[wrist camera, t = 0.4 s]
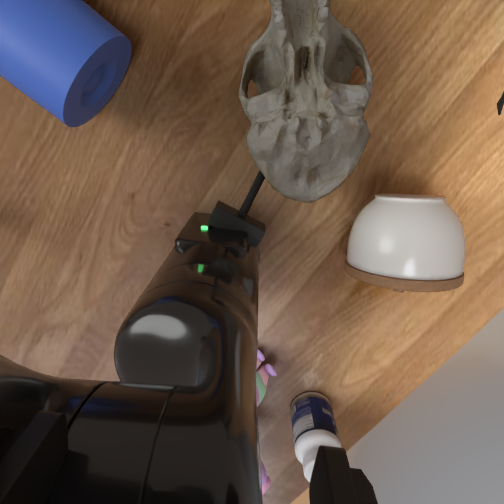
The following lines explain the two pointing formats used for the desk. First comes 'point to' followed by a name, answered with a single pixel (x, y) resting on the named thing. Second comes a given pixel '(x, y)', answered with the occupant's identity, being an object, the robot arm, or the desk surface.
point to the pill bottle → (312, 428)
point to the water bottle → (62, 56)
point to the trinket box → (407, 244)
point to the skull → (306, 100)
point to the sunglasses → (500, 104)
